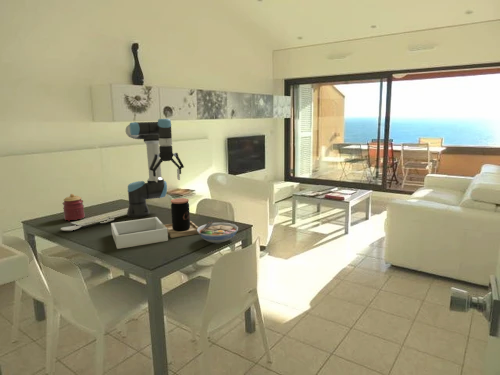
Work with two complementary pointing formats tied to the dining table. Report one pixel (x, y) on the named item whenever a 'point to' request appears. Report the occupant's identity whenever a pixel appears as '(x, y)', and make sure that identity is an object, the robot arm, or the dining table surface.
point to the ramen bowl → (217, 231)
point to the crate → (138, 237)
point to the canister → (73, 208)
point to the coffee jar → (180, 214)
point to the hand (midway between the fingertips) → (167, 180)
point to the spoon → (82, 224)
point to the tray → (173, 233)
